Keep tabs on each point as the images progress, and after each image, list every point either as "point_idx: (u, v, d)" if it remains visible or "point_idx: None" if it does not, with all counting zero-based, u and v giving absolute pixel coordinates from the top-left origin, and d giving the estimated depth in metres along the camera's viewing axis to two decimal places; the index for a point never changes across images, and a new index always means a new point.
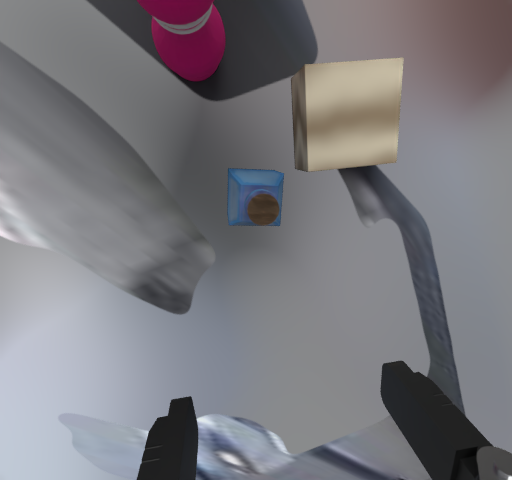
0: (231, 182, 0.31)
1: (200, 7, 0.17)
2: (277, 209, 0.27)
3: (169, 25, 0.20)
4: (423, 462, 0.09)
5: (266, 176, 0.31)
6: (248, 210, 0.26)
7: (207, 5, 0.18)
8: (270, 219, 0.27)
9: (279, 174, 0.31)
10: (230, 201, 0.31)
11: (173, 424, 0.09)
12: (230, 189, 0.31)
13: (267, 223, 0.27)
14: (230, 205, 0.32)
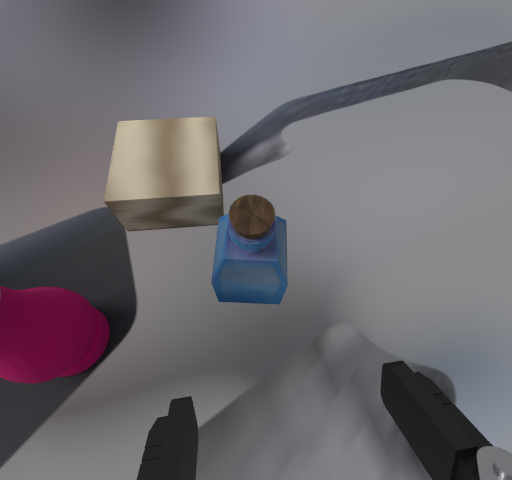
0: (225, 279, 0.22)
1: None
2: (251, 197, 0.19)
3: None
4: (423, 462, 0.09)
5: (219, 234, 0.24)
6: (252, 232, 0.18)
7: None
8: (265, 205, 0.19)
9: (219, 221, 0.25)
10: (252, 281, 0.22)
11: (173, 424, 0.09)
12: (235, 281, 0.22)
13: (271, 208, 0.19)
14: (257, 281, 0.22)
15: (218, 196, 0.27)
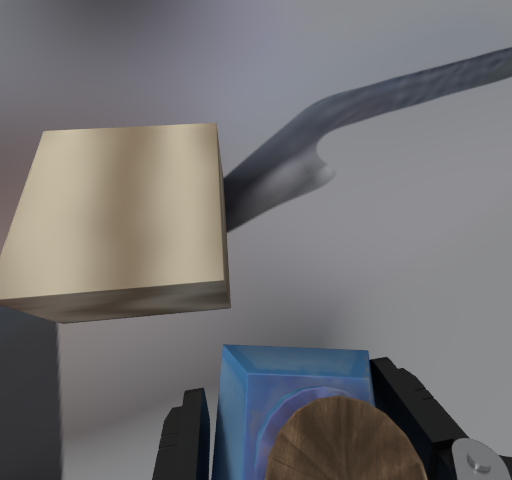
0: None
1: None
2: (337, 406, 0.06)
3: None
4: None
5: (225, 406, 0.10)
6: None
7: None
8: (390, 448, 0.05)
9: (223, 358, 0.11)
10: None
11: (188, 413, 0.10)
12: None
13: (414, 463, 0.05)
14: None
15: (221, 283, 0.14)
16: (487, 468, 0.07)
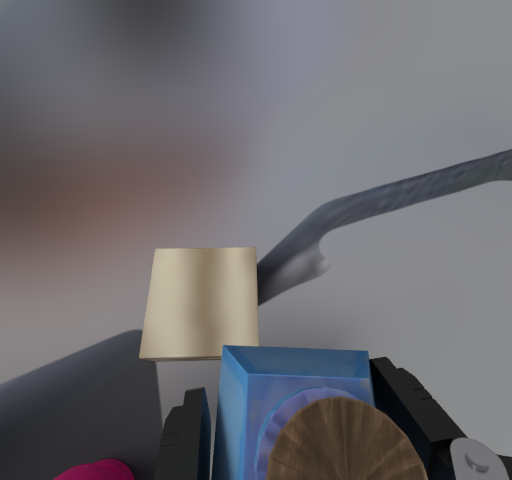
0: None
1: None
2: (337, 407, 0.06)
3: None
4: None
5: (224, 406, 0.10)
6: None
7: None
8: (390, 449, 0.05)
9: (223, 358, 0.11)
10: None
11: (189, 413, 0.10)
12: None
13: (415, 464, 0.05)
14: None
15: None
16: (485, 467, 0.07)
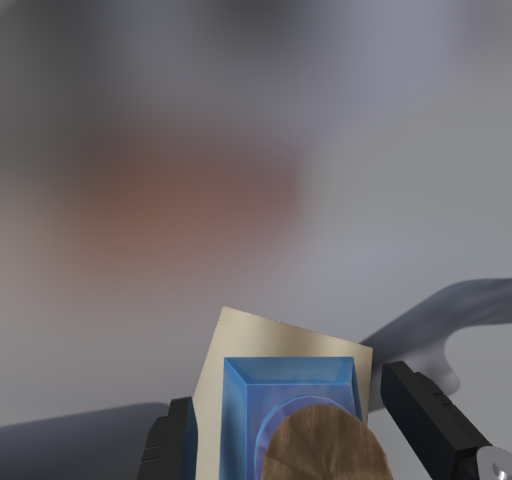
0: None
1: None
2: (318, 413, 0.07)
3: None
4: (423, 462, 0.09)
5: (228, 412, 0.11)
6: None
7: None
8: (360, 444, 0.07)
9: (225, 369, 0.13)
10: None
11: (173, 424, 0.09)
12: None
13: (379, 456, 0.07)
14: None
15: None
16: None
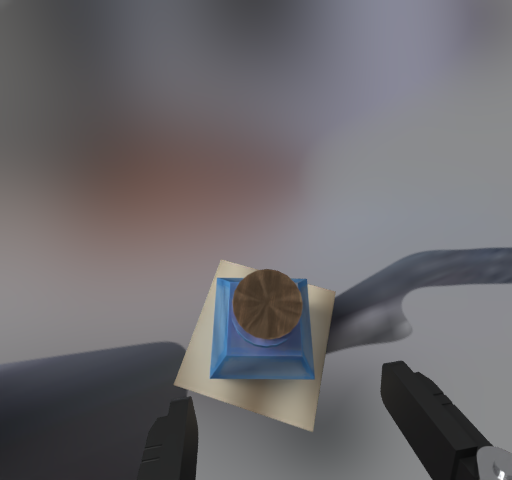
0: (228, 374, 0.16)
1: None
2: (265, 273, 0.13)
3: None
4: (423, 462, 0.09)
5: (218, 307, 0.17)
6: (269, 336, 0.12)
7: None
8: (287, 287, 0.13)
9: (217, 284, 0.18)
10: (266, 376, 0.16)
11: (173, 424, 0.09)
12: (242, 376, 0.16)
13: (296, 292, 0.13)
14: (274, 376, 0.16)
15: None
16: None
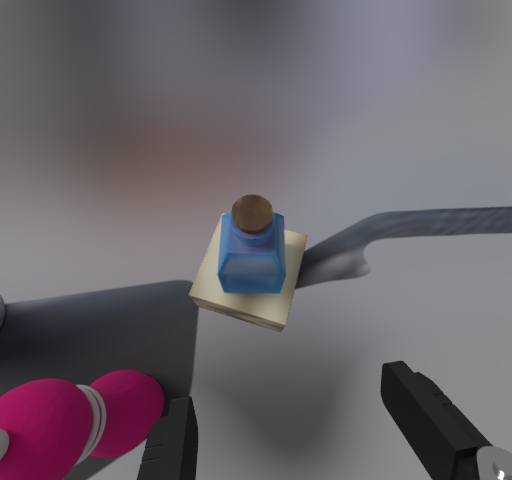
0: (229, 271, 0.24)
1: (79, 420, 0.16)
2: (251, 196, 0.21)
3: (83, 454, 0.18)
4: (423, 462, 0.09)
5: (223, 231, 0.26)
6: (253, 228, 0.20)
7: (84, 408, 0.17)
8: (264, 204, 0.21)
9: (222, 219, 0.27)
10: (253, 272, 0.25)
11: (173, 424, 0.09)
12: (238, 272, 0.25)
13: (269, 206, 0.21)
14: (259, 272, 0.25)
15: (284, 325, 0.29)
16: None
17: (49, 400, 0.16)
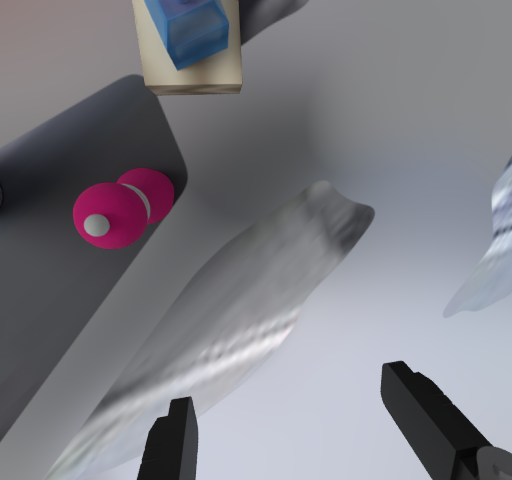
0: (176, 42, 0.24)
1: (135, 198, 0.24)
2: None
3: None
4: (423, 462, 0.09)
5: None
6: None
7: (132, 191, 0.24)
8: None
9: None
10: (199, 34, 0.25)
11: (173, 424, 0.09)
12: (185, 40, 0.25)
13: None
14: (204, 31, 0.25)
15: (241, 84, 0.32)
16: None
17: (109, 193, 0.23)
